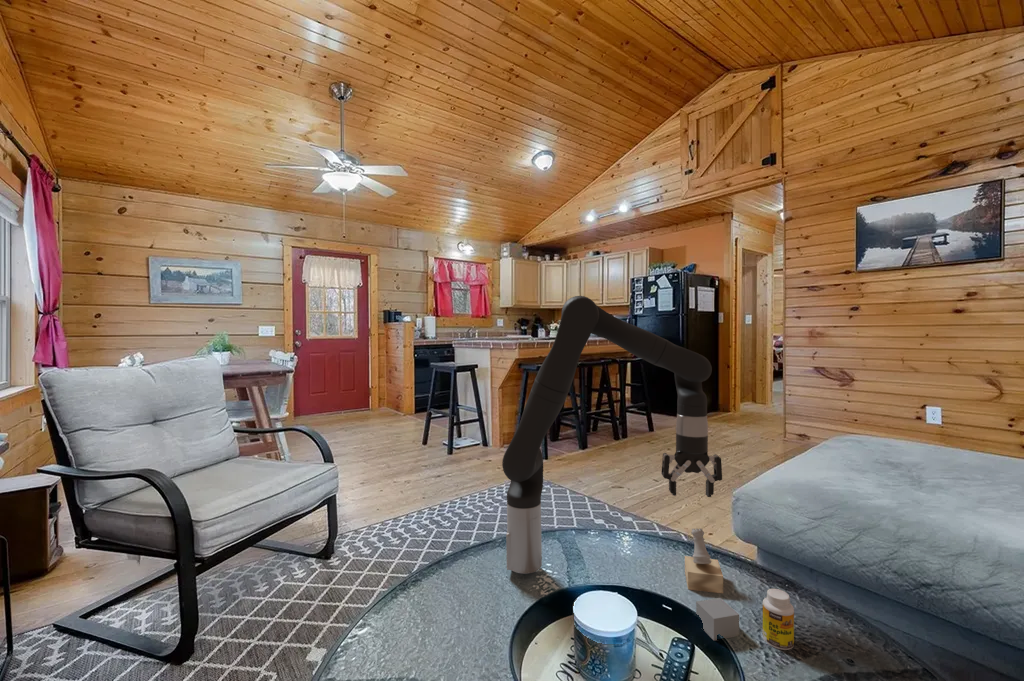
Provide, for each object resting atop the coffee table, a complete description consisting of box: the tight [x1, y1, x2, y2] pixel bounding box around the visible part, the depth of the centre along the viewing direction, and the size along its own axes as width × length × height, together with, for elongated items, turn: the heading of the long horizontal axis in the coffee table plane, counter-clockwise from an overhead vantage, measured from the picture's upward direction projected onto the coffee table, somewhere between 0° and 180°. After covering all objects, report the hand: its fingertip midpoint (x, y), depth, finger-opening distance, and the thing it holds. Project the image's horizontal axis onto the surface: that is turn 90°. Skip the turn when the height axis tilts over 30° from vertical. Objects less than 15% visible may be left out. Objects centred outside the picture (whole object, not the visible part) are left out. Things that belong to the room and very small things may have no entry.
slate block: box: [695, 597, 740, 641], centre depth 96 cm, size 6×6×5 cm
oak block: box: [684, 555, 724, 594], centre depth 113 cm, size 8×8×5 cm
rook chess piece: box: [690, 528, 712, 564], centre depth 114 cm, size 4×4×8 cm
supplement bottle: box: [762, 588, 795, 651], centre depth 92 cm, size 6×6×10 cm
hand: (691, 495), depth 114 cm, fingers open, 8 cm apart
